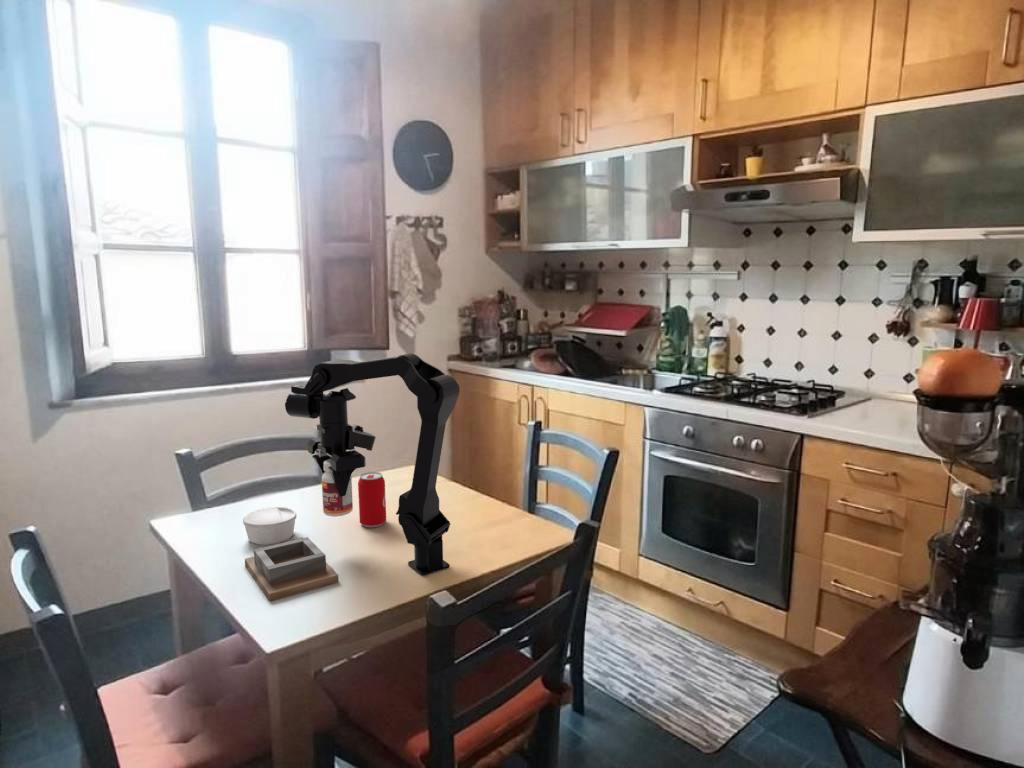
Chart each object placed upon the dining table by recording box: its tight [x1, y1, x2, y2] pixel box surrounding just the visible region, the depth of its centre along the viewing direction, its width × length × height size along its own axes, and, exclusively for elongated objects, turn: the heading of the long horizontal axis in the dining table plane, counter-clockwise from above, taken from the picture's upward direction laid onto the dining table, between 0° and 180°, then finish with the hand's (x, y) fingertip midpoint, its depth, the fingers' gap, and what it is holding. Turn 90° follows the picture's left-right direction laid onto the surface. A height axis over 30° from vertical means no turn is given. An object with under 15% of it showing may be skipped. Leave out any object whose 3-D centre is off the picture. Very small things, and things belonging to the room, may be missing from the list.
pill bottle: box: [321, 459, 354, 517], centre depth 138 cm, size 6×6×11 cm
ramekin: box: [242, 506, 297, 546], centre depth 147 cm, size 11×11×5 cm
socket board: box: [244, 536, 340, 602], centre depth 129 cm, size 18×13×4 cm
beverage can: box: [357, 471, 387, 528], centre depth 154 cm, size 6×6×12 cm
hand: (337, 491), depth 138 cm, fingers closed on pill bottle, 6 cm apart
